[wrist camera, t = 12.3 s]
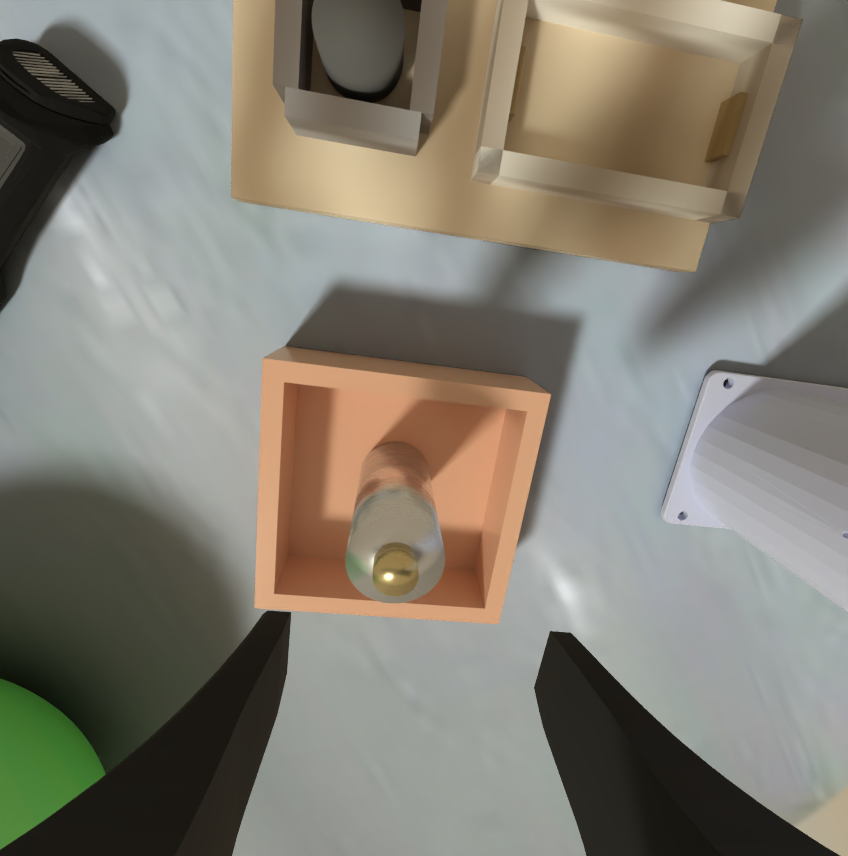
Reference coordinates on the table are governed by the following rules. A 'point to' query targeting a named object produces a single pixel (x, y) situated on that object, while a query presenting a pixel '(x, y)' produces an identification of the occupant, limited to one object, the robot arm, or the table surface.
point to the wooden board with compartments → (521, 121)
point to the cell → (395, 527)
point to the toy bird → (38, 761)
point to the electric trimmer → (40, 132)
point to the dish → (341, 467)
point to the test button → (360, 45)
